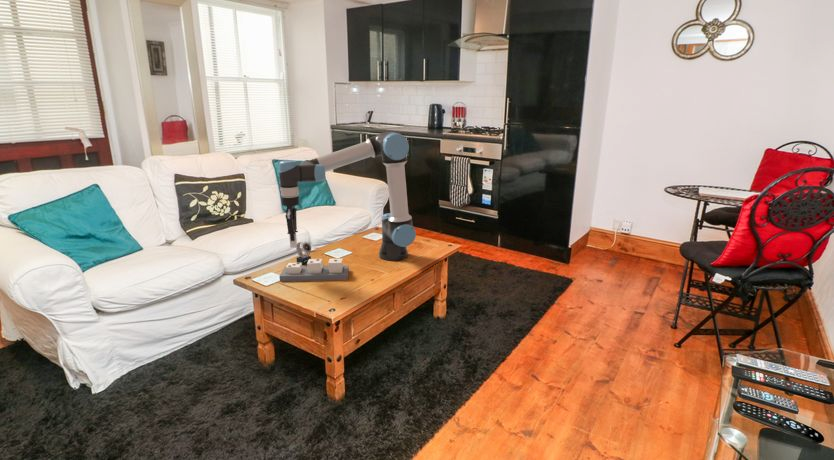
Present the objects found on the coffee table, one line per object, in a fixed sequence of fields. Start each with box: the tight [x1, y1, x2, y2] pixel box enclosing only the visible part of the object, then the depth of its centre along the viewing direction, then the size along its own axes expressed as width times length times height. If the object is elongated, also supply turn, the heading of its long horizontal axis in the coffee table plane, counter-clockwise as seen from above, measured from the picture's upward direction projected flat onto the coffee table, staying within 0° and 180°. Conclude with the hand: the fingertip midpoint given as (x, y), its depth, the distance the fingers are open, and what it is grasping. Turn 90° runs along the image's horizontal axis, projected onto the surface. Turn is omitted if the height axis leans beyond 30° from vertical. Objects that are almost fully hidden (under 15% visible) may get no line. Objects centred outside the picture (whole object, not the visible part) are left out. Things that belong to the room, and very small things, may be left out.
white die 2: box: [327, 257, 344, 273], centre depth 209 cm, size 6×6×5 cm
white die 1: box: [285, 262, 303, 274], centre depth 208 cm, size 6×6×5 cm
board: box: [279, 265, 350, 282], centre depth 209 cm, size 30×12×2 cm, turn 94°
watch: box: [295, 240, 312, 266], centre depth 225 cm, size 6×8×11 cm
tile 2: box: [306, 258, 323, 274], centre depth 208 cm, size 6×6×5 cm
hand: (293, 246), depth 205 cm, fingers closed
